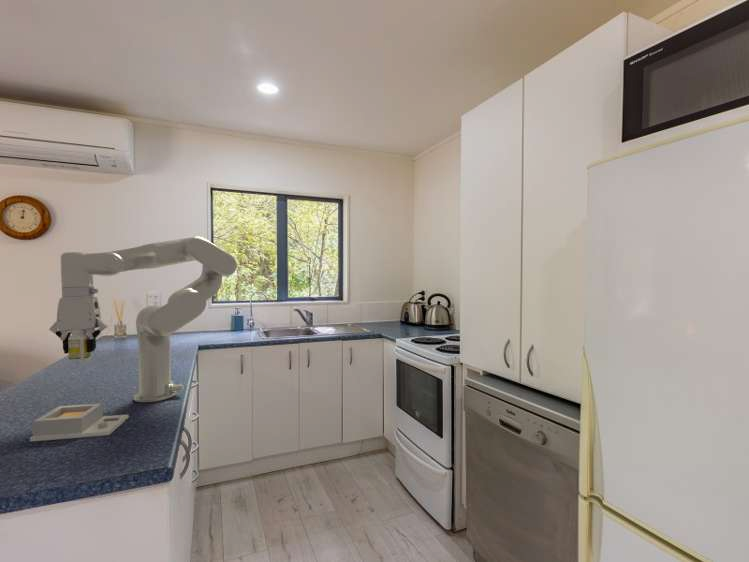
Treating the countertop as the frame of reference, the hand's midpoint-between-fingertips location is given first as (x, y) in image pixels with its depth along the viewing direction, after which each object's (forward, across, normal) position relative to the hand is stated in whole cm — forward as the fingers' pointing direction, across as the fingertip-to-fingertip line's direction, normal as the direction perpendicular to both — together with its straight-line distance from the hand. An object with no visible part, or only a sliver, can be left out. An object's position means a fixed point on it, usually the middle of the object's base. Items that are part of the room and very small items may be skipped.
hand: (79, 351), depth 115 cm
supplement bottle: (+3, 0, 0) cm, 3 cm away
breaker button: (+17, -4, +13) cm, 22 cm away
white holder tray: (+19, -7, +13) cm, 24 cm away
